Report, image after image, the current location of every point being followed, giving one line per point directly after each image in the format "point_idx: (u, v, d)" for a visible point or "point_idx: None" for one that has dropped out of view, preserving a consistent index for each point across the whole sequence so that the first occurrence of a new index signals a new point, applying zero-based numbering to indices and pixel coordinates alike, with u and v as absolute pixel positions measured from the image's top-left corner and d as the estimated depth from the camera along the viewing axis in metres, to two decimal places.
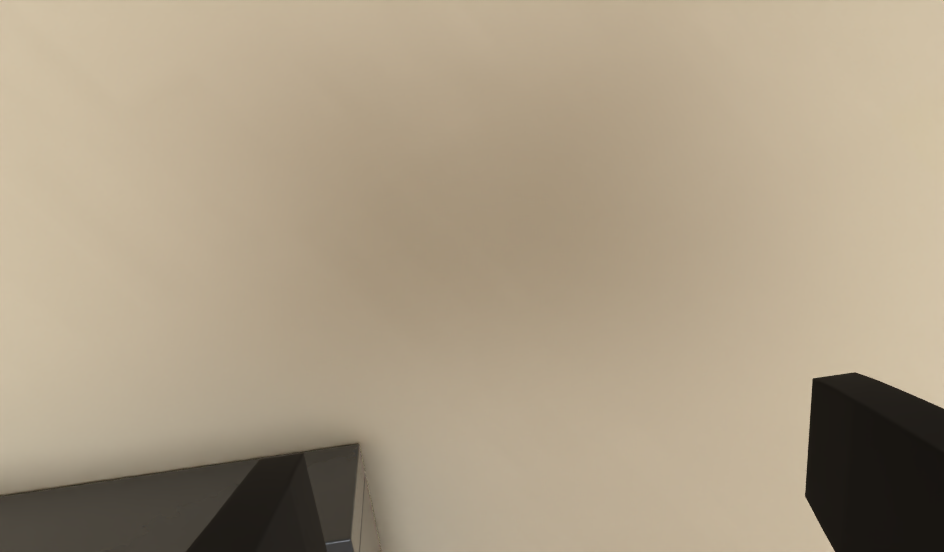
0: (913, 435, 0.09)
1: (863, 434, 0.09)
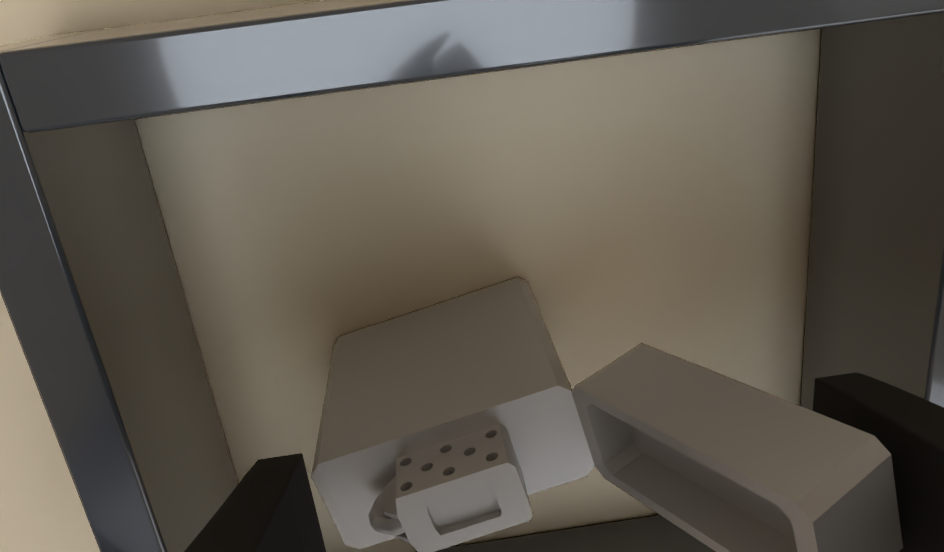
0: (916, 435, 0.09)
1: None
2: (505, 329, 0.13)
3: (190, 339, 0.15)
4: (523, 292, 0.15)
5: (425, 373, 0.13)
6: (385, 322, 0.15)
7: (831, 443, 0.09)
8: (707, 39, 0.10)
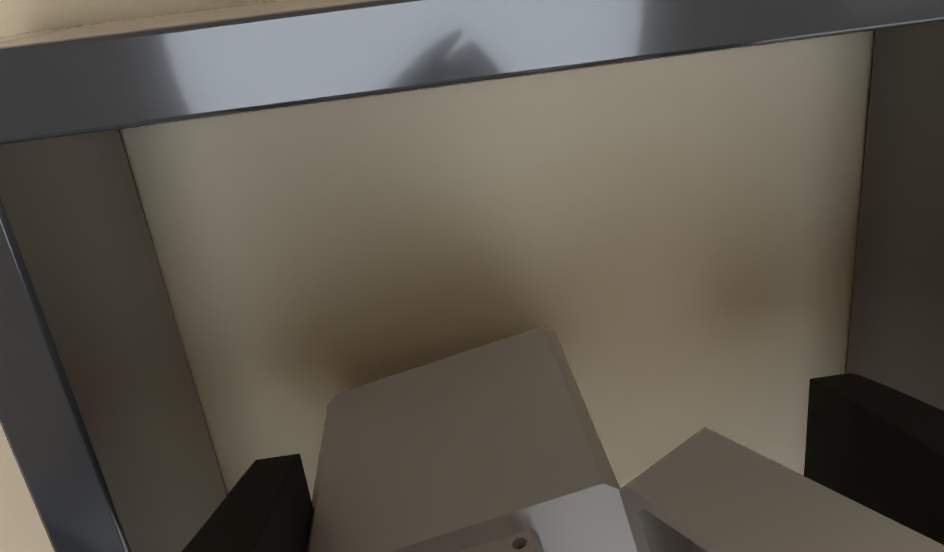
0: (910, 435, 0.09)
1: (859, 435, 0.09)
2: (532, 397, 0.11)
3: (180, 364, 0.14)
4: (550, 347, 0.12)
5: (436, 453, 0.11)
6: (388, 378, 0.13)
7: None
8: (765, 39, 0.09)
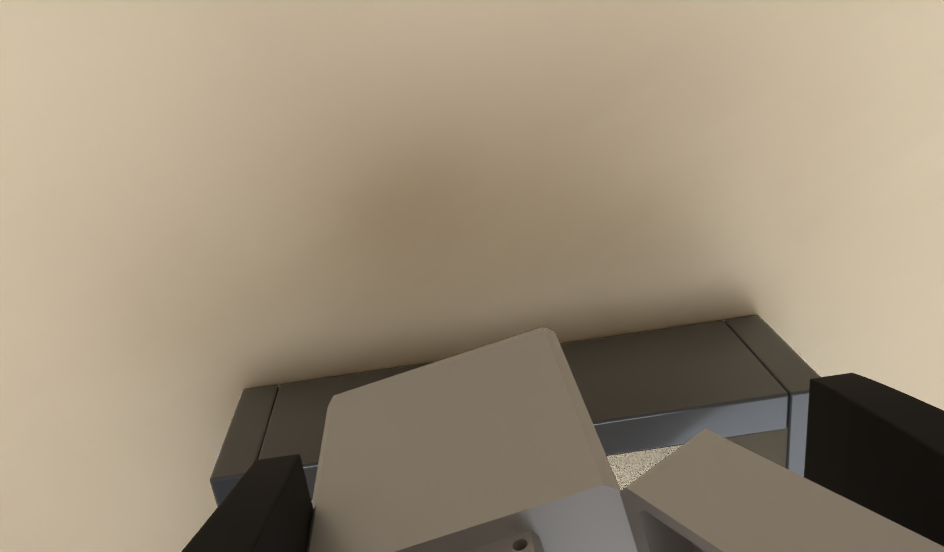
0: (910, 436, 0.09)
1: (860, 434, 0.09)
2: (532, 399, 0.11)
3: None
4: (551, 348, 0.12)
5: (436, 455, 0.11)
6: (388, 379, 0.13)
7: None
8: None
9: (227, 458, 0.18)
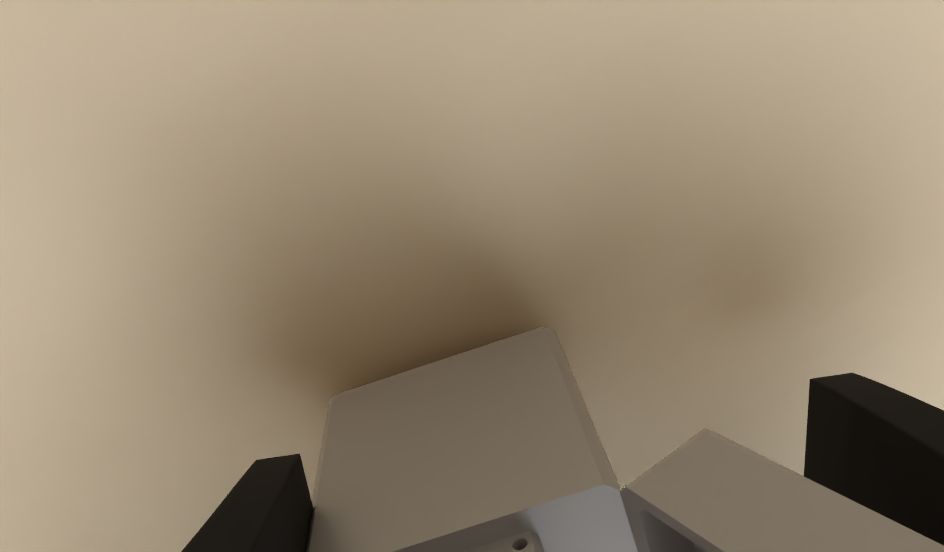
0: (910, 435, 0.09)
1: (860, 435, 0.09)
2: (533, 398, 0.11)
3: None
4: (551, 347, 0.12)
5: (436, 454, 0.11)
6: (388, 378, 0.13)
7: None
8: None
9: None
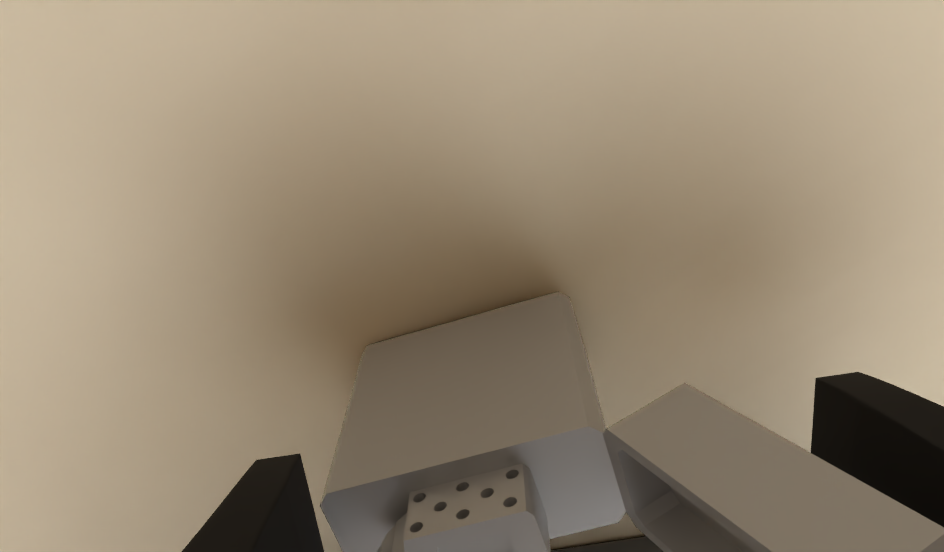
0: (917, 434, 0.09)
1: (866, 434, 0.09)
2: (539, 353, 0.12)
3: None
4: (562, 310, 0.14)
5: (449, 397, 0.12)
6: (416, 332, 0.15)
7: (895, 534, 0.07)
8: None
9: None
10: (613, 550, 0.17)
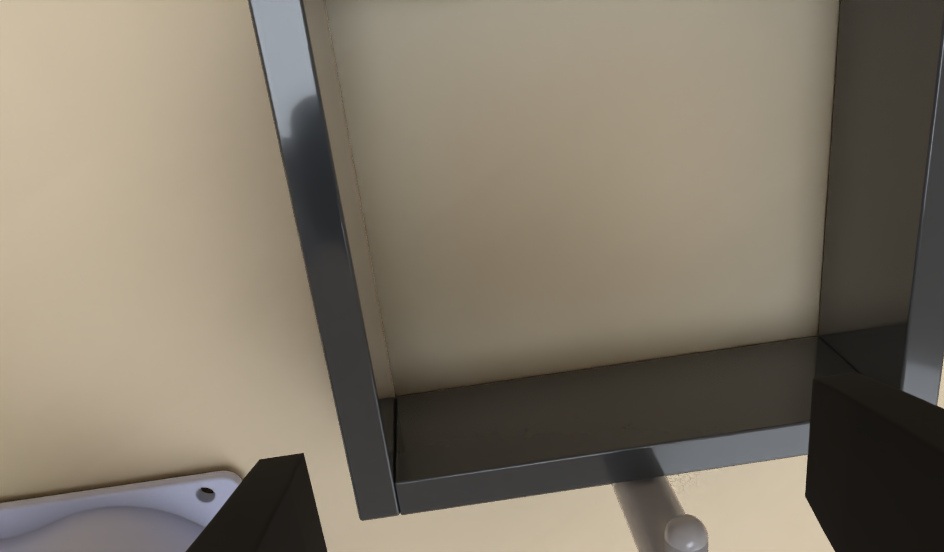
0: (913, 435, 0.09)
1: (862, 434, 0.09)
2: None
3: (357, 189, 0.19)
4: None
5: None
6: None
7: None
8: None
9: None
10: None
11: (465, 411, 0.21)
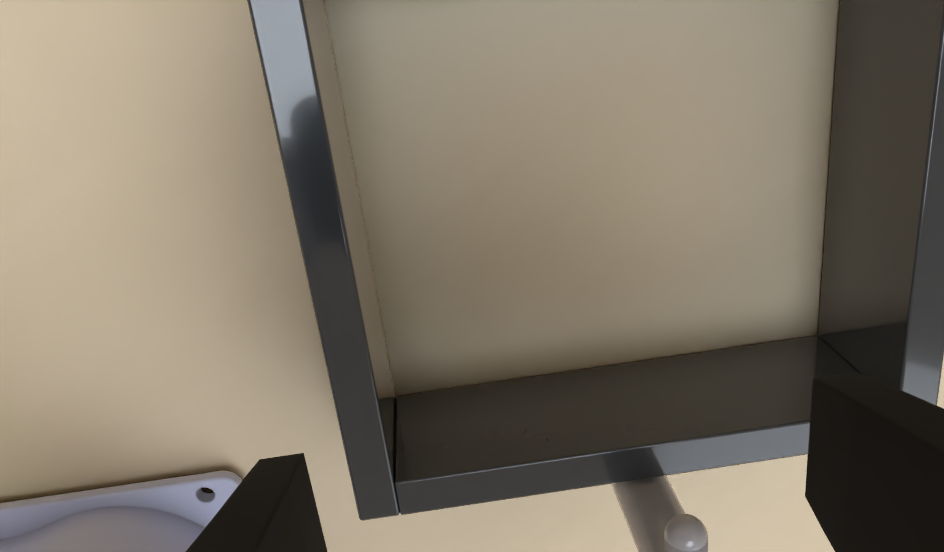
0: (913, 435, 0.09)
1: (863, 434, 0.09)
2: None
3: (356, 189, 0.19)
4: None
5: None
6: None
7: None
8: None
9: None
10: None
11: (465, 411, 0.21)
